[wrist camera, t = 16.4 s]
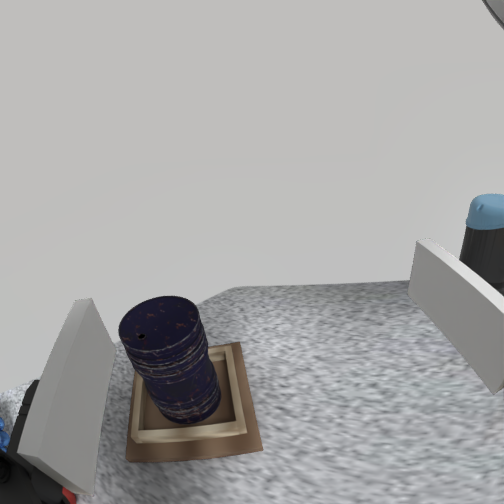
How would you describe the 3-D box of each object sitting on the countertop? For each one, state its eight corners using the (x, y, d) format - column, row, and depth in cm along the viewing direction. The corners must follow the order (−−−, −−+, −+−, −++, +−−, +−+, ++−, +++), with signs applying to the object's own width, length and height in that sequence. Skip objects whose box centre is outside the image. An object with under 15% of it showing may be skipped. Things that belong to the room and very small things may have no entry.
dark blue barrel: (180, 364, 45) (153, 288, 38) (234, 383, 41) (216, 304, 34) (143, 408, 37) (101, 335, 30) (199, 436, 33) (164, 364, 26)
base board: (240, 346, 49) (238, 333, 48) (263, 450, 32) (261, 440, 30) (139, 360, 47) (133, 348, 46) (129, 462, 30) (119, 452, 28)
